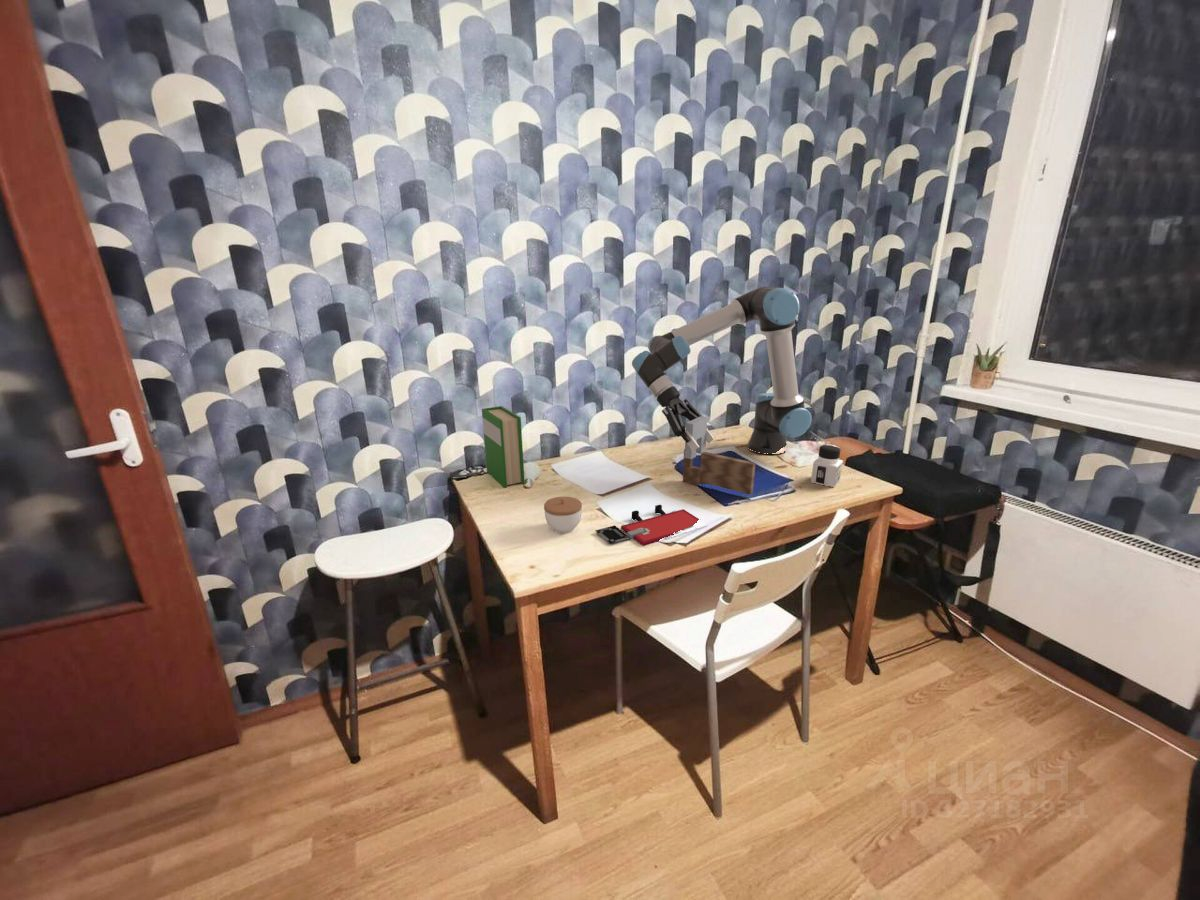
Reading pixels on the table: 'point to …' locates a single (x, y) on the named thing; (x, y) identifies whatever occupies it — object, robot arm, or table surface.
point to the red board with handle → (650, 527)
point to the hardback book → (503, 445)
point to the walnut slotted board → (720, 472)
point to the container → (827, 466)
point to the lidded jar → (563, 513)
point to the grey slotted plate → (696, 436)
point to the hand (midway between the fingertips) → (704, 445)
